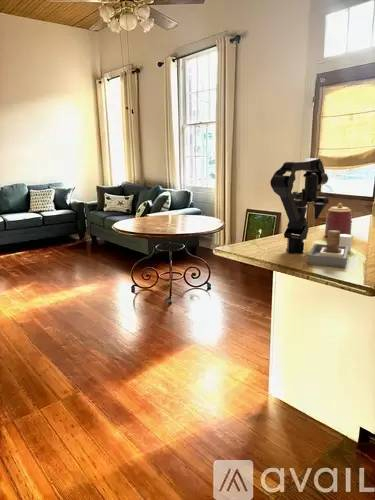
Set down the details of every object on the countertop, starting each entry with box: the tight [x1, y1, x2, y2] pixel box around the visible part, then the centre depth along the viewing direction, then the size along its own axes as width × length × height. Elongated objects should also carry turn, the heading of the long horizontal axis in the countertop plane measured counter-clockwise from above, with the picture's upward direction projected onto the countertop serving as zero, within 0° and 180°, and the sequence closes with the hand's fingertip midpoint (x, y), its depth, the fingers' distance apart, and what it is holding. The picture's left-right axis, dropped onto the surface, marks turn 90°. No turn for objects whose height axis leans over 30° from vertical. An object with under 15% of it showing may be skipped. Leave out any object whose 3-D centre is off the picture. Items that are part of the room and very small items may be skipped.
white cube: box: [339, 234, 354, 252], centre depth 168 cm, size 7×7×7 cm
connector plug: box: [326, 230, 340, 253], centre depth 149 cm, size 5×5×12 cm
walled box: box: [307, 243, 349, 269], centre depth 155 cm, size 14×20×5 cm
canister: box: [324, 202, 354, 238], centre depth 194 cm, size 13×13×18 cm
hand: (309, 220), depth 172 cm, fingers open, 9 cm apart
